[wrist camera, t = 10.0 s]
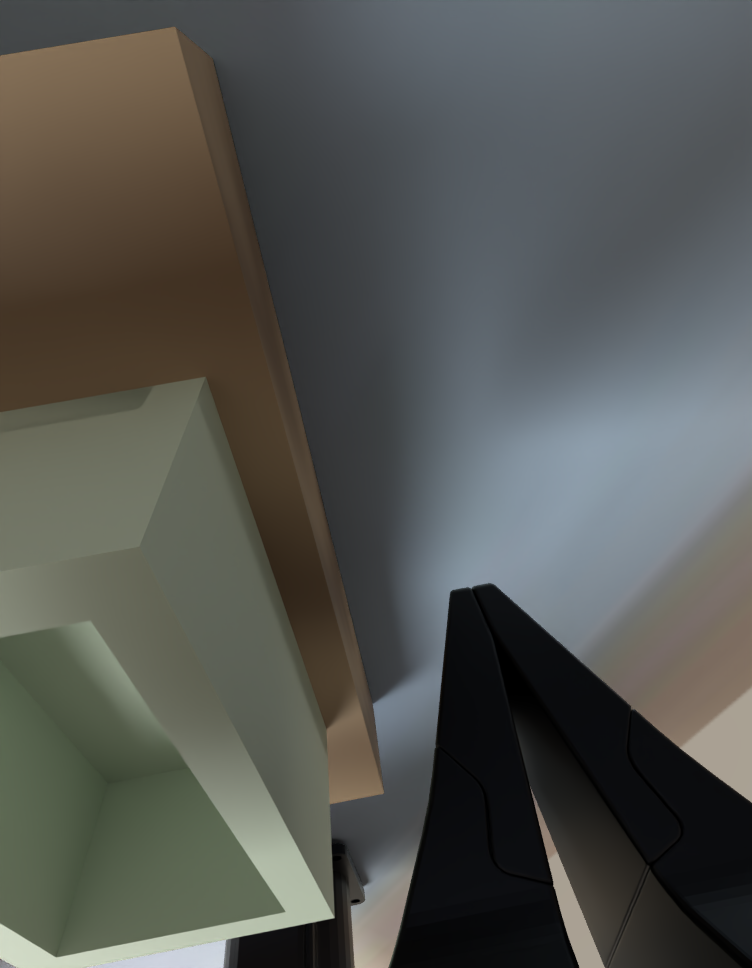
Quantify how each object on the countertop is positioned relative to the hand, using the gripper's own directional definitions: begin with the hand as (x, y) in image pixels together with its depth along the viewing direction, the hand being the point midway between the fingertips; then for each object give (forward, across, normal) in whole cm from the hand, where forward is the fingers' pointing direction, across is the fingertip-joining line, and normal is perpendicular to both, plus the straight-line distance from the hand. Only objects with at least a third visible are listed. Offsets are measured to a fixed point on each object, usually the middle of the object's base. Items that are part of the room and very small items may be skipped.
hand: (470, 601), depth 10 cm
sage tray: (+1, +7, 0) cm, 7 cm away
